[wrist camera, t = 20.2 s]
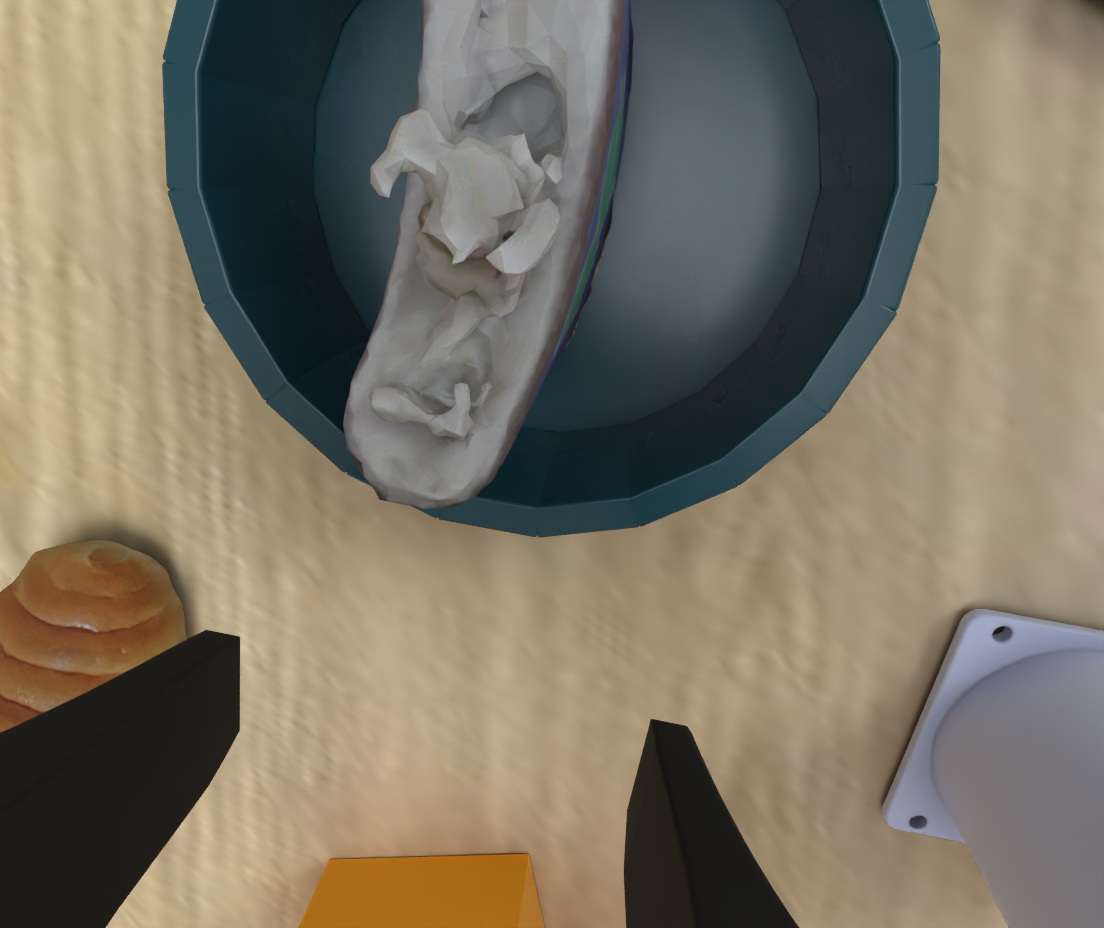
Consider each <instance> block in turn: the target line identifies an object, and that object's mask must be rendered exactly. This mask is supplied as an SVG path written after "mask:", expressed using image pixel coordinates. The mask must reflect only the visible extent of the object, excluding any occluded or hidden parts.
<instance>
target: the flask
mask: <svg viewBox="0 0 1104 928" xmlns="http://www.w3.org/2000/svg"><path fill="white" fill-rule="evenodd" d="M421 18H422V52H421V59H420V65H419V72H418V97H417V99H416V102H415V104H414V107H413V112H412V113H409V114H407V115H404V116H402V117H400V118H399V120H398V122H397V124H396V125H395V127H394V129H393V131H392V133H391V135H390V139H389V142H388V146H387V149H386V150H385V151H384V152H383V154H382V155H381V156H380V157H379V158H378V159H377V160H376V162H375V163H374V164H373V165H372V166H371V184H372V186H373V187H374V189H375V190H376V192H377V193H378V194H379V195H380V196H384V197H387V198H389V196H390V192H391V189H392V187H393V186H394V184H395V182H396V180H397V178H398V177H399V175H400V173H401V172H408V174H407V181H406V188H405V195H404V203H403V209H402V212H401V215H400V218H399V226H398V237H397V244H396V248H395V252H394V256H393V259H392V263H391V267H390V271H389V275H388V279H387V283H386V287H385V292H384V298H383V302H382V305H381V308H380V311H379V314H378V317H377V320H376V323H375V325H374V328H373V331H372V333H371V336H370V339H369V341H368V344H367V346H366V349H365V351H364V353H363V355H362V358H361V360H360V362H359V364H358V366H357V369H356V371H355V373H354V375H353V378H352V381H351V387H350V393H349V396H348V399H347V402H346V408H345V414H344V421H343V427H344V432H345V438H346V443H347V448H348V451H349V452H350V453H351V454H353V457H354V460H355V462H356V465H357V467H358V470H359V471H360V473H361V474H362V475H363V476H364V478H365V479H366V480H367V481H368V483H369V484H370V485H371V486H372V488H373V489H374V490H375V492H376V494H377V496H378V498H379V499H380V500H384V501H389V502H394V503H399V504H405V505H410V506H415V507H418V508H421V509H438V508H447V507H456V506H458V505H460V504H463V503H465V502H468V501H470V500H471V499H473V498H474V497H475V496H476V495H477V494H478V493H479V492H480V491H481V490H482V489H483V488H484V487H486V486H487V485H488V484H489V483H490V482H491V481H492V480H493V479H494V478H495V476H496V473H497V471H498V468H499V467H500V466H501V465H502V464H503V462H504V460H505V458H506V456H507V454H508V453H509V451H510V449H511V447H512V445H513V443H514V441H515V438H516V436H517V434H518V432H519V430H520V428H521V426H522V424H523V422H524V420H525V418H526V415H527V413H528V411H529V409H530V407H531V405H532V404H533V402H534V400H535V399H536V397H537V395H538V393H539V390H540V388H541V386H542V384H543V382H544V380H545V378H546V377H547V375H548V374H549V372H550V371H551V370H552V368H553V367H554V366H555V365H556V364H557V363H558V362H559V360H560V357H561V355H562V353H563V351H564V349H565V348H566V347H567V345H568V344H569V342H570V340H571V339H572V337H573V335H574V334H575V328H576V327H577V326H578V321H579V318H580V315H581V312H582V311H583V308H584V306H585V305H586V302H587V300H589V298H590V295H591V292H592V288H591V284H592V283H593V280H594V278H595V277H596V275H597V273H598V272H599V264H600V263H601V260H602V257H603V255H604V250H603V248H604V245H605V241H606V237H607V235H608V233H609V231H610V228H611V226H610V224H611V223H612V209H613V196H614V191H615V189H616V187H617V186H616V183H617V179H618V173H619V167H620V161H621V156H622V151H623V147H624V137H625V126H626V120H627V118H628V116H627V111H628V106H629V95H630V90H631V85H632V51H633V42H634V35H633V24H632V18H631V0H421Z"/></svg>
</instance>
